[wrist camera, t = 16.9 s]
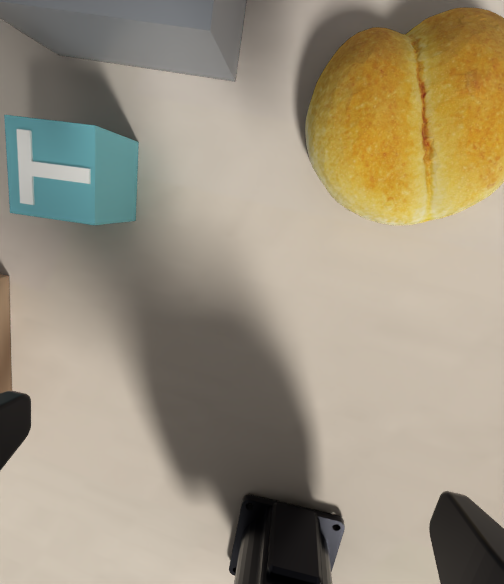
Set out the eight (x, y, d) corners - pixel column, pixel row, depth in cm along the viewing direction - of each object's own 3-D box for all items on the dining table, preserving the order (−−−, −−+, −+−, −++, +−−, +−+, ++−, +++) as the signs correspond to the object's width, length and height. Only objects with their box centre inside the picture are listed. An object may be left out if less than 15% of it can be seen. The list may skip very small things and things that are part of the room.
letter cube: (136, 220, 19) (93, 225, 15) (67, 211, 19) (8, 212, 15) (139, 142, 18) (93, 125, 14) (66, 133, 18) (2, 114, 14)
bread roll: (296, 58, 16) (295, 12, 12) (506, 13, 15) (581, -55, 11) (314, 235, 18) (319, 244, 14) (502, 210, 17) (564, 212, 13)
